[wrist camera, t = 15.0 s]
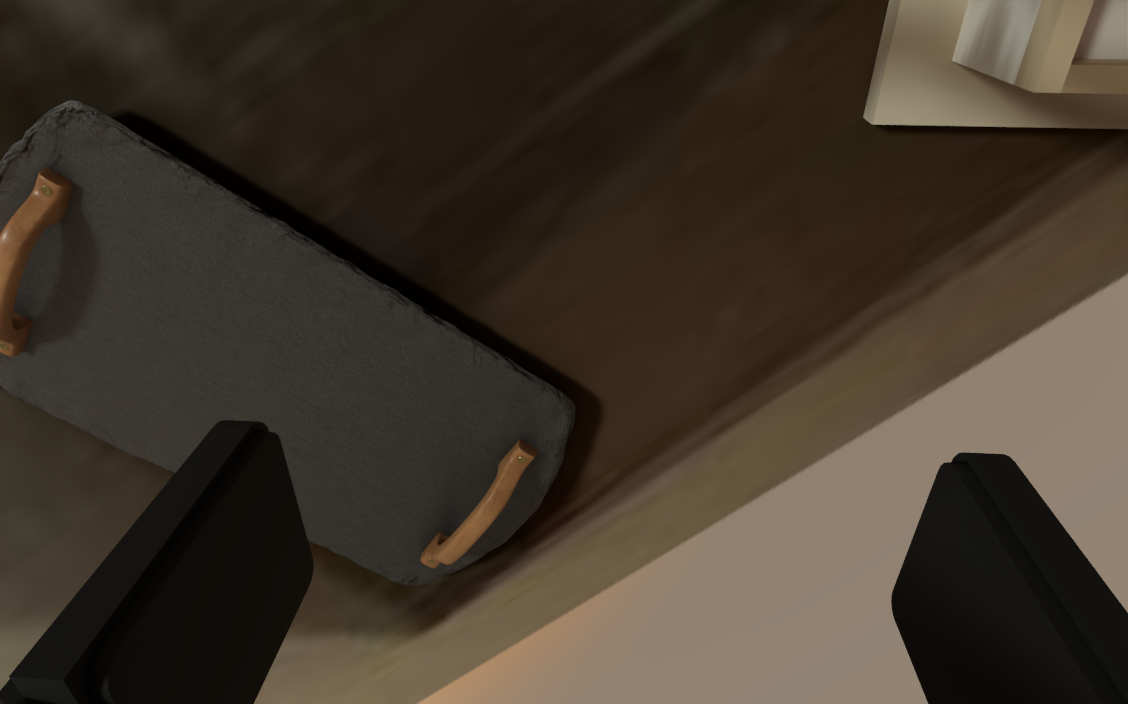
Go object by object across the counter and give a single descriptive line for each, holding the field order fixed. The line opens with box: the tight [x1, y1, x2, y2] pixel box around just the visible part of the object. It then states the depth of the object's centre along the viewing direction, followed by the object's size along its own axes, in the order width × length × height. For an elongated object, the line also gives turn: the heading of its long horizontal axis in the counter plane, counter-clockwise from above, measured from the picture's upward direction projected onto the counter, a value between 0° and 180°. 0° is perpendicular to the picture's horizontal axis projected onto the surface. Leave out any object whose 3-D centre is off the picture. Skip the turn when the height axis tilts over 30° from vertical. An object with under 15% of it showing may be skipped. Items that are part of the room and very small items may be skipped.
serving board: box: [0, 100, 575, 586], centre depth 45 cm, size 39×23×6 cm, turn 55°
